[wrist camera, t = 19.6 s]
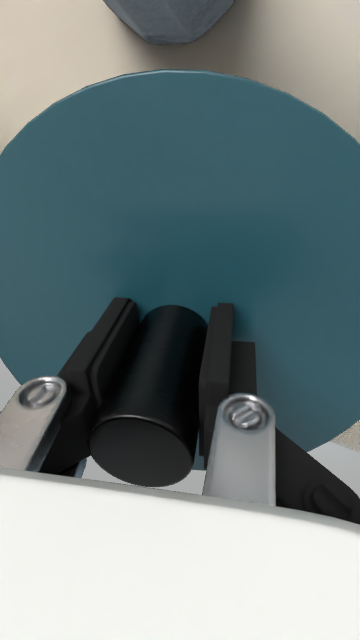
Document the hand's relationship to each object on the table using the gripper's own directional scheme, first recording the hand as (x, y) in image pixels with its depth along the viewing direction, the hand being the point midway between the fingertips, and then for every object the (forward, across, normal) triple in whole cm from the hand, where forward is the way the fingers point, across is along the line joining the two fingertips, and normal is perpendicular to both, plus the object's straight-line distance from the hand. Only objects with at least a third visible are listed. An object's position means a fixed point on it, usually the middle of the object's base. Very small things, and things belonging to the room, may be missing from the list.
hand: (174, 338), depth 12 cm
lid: (+1, 0, 0) cm, 1 cm away
